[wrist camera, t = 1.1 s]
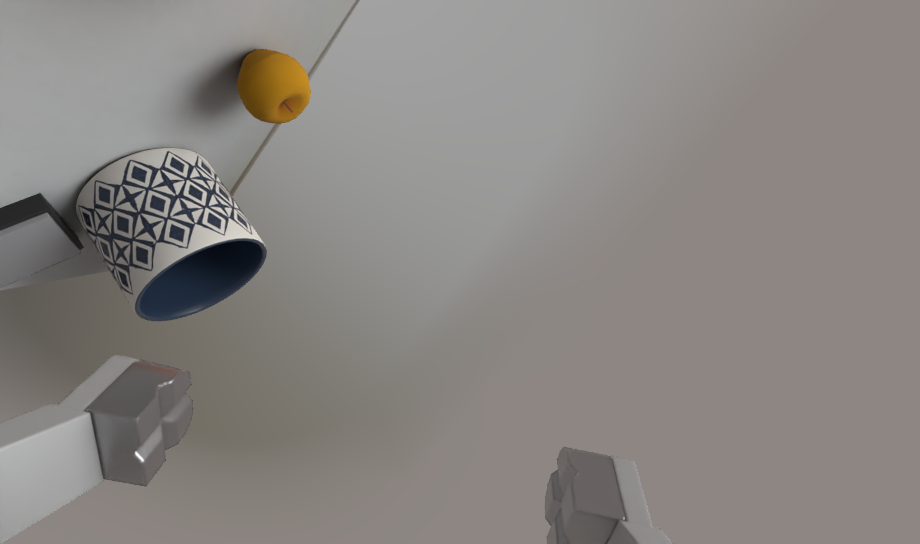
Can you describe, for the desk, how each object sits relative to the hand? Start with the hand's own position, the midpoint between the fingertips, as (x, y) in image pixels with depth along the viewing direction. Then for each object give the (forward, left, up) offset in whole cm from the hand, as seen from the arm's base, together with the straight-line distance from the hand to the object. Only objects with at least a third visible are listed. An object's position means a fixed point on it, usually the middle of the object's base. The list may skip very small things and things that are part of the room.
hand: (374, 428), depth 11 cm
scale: (-14, -58, -48) cm, 77 cm away
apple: (+20, -43, -49) cm, 68 cm away
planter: (+2, -60, -49) cm, 78 cm away
